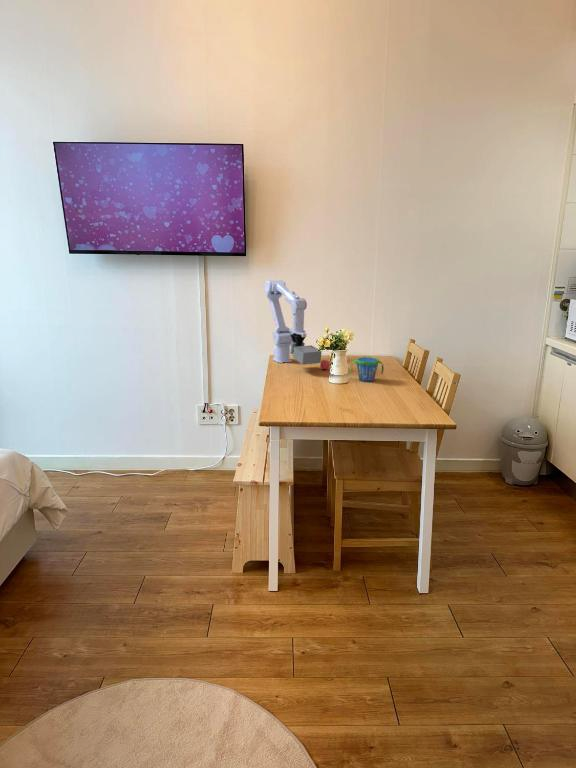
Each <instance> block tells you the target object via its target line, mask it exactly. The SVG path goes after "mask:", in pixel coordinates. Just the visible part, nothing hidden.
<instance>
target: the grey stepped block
mask: <svg viewBox="0 0 576 768" xmlns="http://www.w3.org/2000/svg"><path fill="white" fill-rule="evenodd" d="M290 355H292V358H293V359H294V360H295V361H296V362H298V363H300V365H310V364H311V365H312V364H313V365H314V364H320V363H321V362H322V350H320V351H318V348H316V347H315V346H314V345H306V344H305V342H304V341H303V343H302V346H298V347H296V343H293V342H292V343H291V345H290Z"/></svg>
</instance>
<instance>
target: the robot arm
mask: <svg viewBox="0 0 576 768" xmlns="http://www.w3.org/2000/svg"><path fill="white" fill-rule="evenodd" d="M264 291H265V292H264V293H265V296H266V298H267V299H268V302H269V306H270V310H271V313H272V316H273V321H274V326H275V329H274V330H273V332H272V341H273V343H274V347H273V358H271V359H272V361H275V362H277V363H278V362H279V364H282V363H283V362H285V363H293V362H292V361H293V360H292V359H290V357H291V356H290V355H291V354H290V348H291V343H296V347H298V346H302V343H303V342H304V340H305V339H306V337H307V333H306V330H305V310H306V309H307V306H308V303H307V300H306V298H304V297H303V298H301V297H300V296H298V294H296V292H295V291H294V290H289V289H288V287H287V286H286V282H285V281H284V280H283V279H280V280H278V279H277V280H266V281H265V283H264ZM282 296H284V298H285V300H286V301H287V303H289V305H290V309H291V313H292V328H289V327H288V326H287V325H286V323H285V319H284V315H283V312H282V308H281V303H280V300H279V299H280V298H282ZM283 364H284V363H283Z"/></svg>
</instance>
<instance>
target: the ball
mask: <svg viewBox="0 0 576 768" xmlns="http://www.w3.org/2000/svg"><path fill="white" fill-rule="evenodd" d="M319 364H320V365H319V367H320V368H321V369H322V370H323V369H325V370H324V371H327V370H329V368H330V367H331V363H330V362H329V361H328V360H327V359H324V360H321V363H319ZM326 369H327V370H326Z"/></svg>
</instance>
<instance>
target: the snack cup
mask: <svg viewBox="0 0 576 768" xmlns="http://www.w3.org/2000/svg"><path fill="white" fill-rule="evenodd" d="M355 363H356V366H357V374H358V380H359V381H362V382H374V381H375V378H376V375H377V374H376V373H377V369H378V366H379V364H380V365H381V374H382V375H383V374H384V364H383V362H382V361H381V360H380V359H378V358H375V357H370V356H369V357H367V356H365V357H364V356H362V357H358V358H356V359H355V360H353V361H352V363H351V364H350V365H351V366H350V372H351V374H352V373H353V365H354V364H355Z"/></svg>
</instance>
